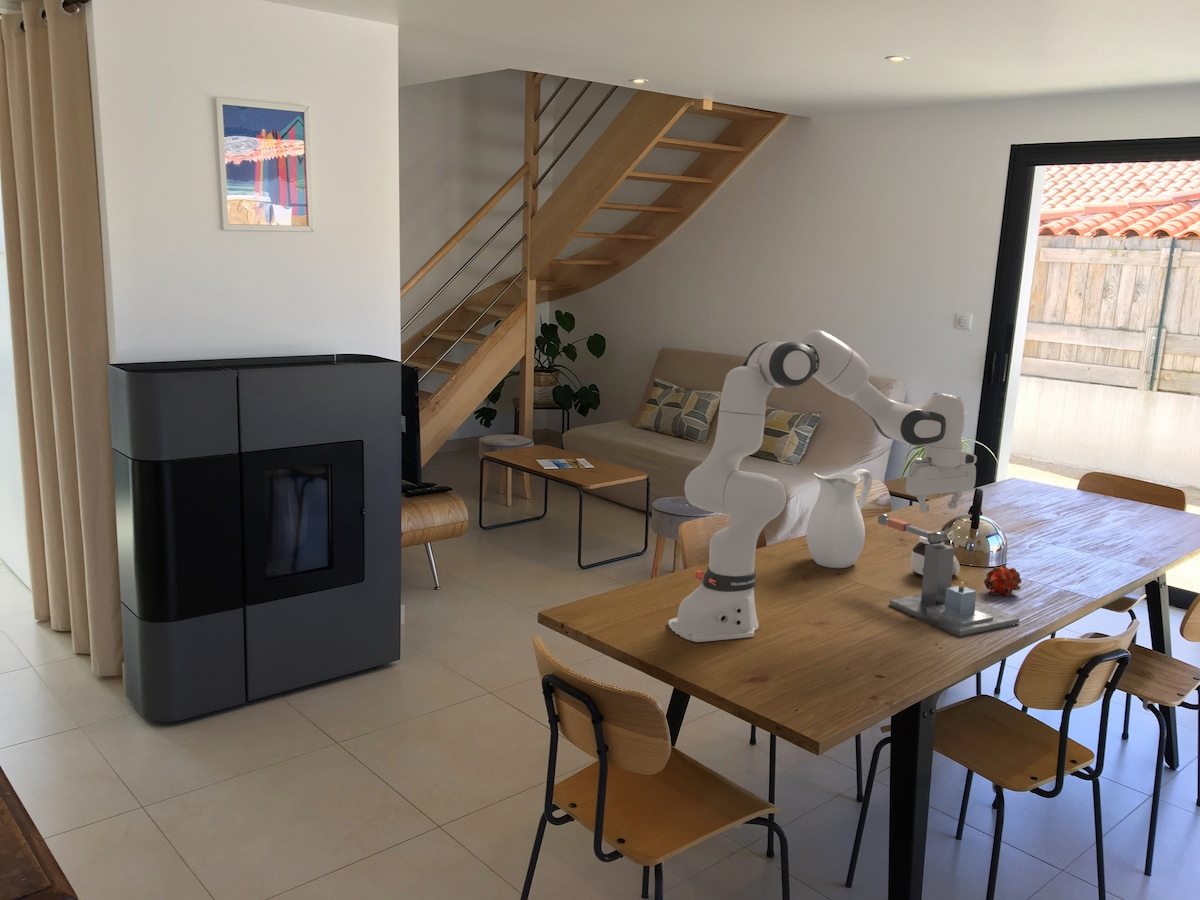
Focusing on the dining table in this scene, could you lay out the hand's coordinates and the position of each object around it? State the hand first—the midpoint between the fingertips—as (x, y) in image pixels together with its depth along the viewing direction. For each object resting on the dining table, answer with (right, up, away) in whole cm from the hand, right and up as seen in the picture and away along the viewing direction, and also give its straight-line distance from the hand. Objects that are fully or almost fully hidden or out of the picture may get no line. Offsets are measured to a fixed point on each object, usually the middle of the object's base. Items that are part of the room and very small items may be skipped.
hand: (938, 509), depth 243 cm
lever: (-4, -7, +12) cm, 15 cm away
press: (+4, -27, 0) cm, 27 cm away
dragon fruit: (+23, -24, +16) cm, 37 cm away
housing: (+4, -26, -5) cm, 26 cm away
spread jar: (+10, -21, +32) cm, 40 cm away
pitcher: (-14, -18, +44) cm, 50 cm away
